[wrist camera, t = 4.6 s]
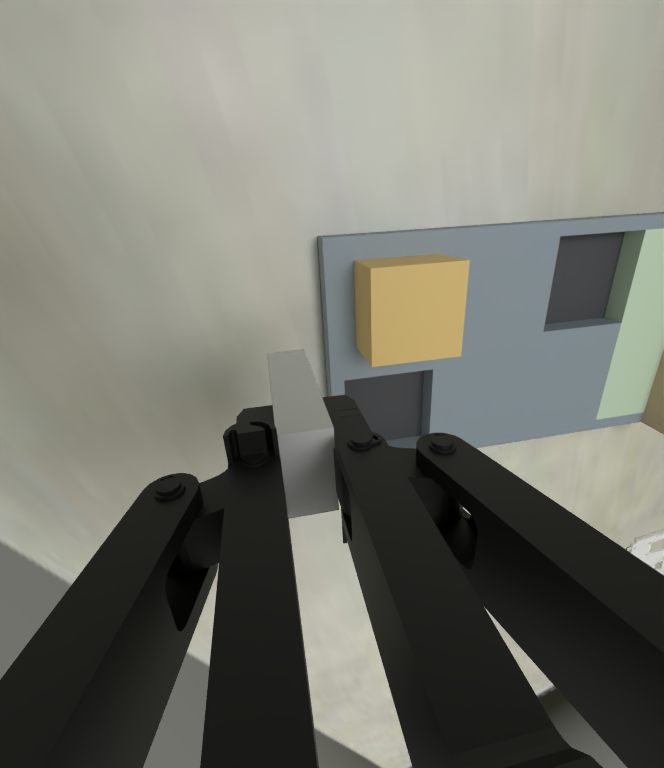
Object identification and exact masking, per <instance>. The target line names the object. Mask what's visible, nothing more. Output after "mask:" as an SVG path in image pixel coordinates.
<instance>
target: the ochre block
mask: <svg viewBox="0 0 664 768" xmlns="http://www.w3.org/2000/svg"><path fill="white" fill-rule="evenodd" d="M469 264H470V260H467V259H463V258H458V257H454V256H449V255H445V254H427V255H415V256H402V257H390V258H377V259H365V260H354V279H355V313H356V347H357V348H358V350H359V351H360V352H361V354H362V355H363V356H364V358H365V359H366V360H367V362H368V363H369V364H370V365H371V367H378V366H386V365H394V364H402V363H411V362H419V361H427V360H435V359H443V358H451V357H460V356H461V353H462V341H463V330H464V319H465V308H466V297H467V286H468V275H469Z"/></svg>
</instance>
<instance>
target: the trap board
mask: <svg viewBox="0 0 664 768" xmlns="http://www.w3.org/2000/svg"><path fill="white" fill-rule="evenodd" d="M318 249H319V265H320V280H321V296H322V311H323V327H324V342H325V358H326V373H327V389H328V397H330V396H338V395H347V396H348V397H350V398H352V399H353V400H354V401H355V402H356V404H357V406H358V409H359V410H360V411H361V414H362V415H363V417H364V419H365V420H366V422H367V424H368V426H369V428H370V429H371V431H372V432H375V433H377V434H380V435H381V436H382V437H383V438H384V439H385V440H386V442H387V443H388V445H389V446H392V447H399V448H416V442H417V441H418V439H419V438H420V437H422V436H424V435H426V434H430V433H437V432H439V433H440V432H441V433H447V434H451V435H455V436H457V437H459V438H461V439H463V440H464V441H466V442H467V443H469V444H470V445H472V446H473V447H475V448H480V447H486V446H493V445H499V444H505V443H511V442H518V441H524V440H530V439H536V438H543V437H549V436H555V435H561V434H567V433H574V432H580V431H586V430H592V429H599V428H605V427H611V426H617V425H623V424H630V423H636V422H642V423H644V424H646V425H648V426H650V427H651V428H653V429H655V430H657V431H659V432H661V433H663V434H664V212H658V213H643V214H629V215H615V216H601V217H586V218H572V219H558V220H543V221H529V222H515V223H501V224H486V225H472V226H458V227H443V228H429V229H415V230H400V231H386V232H372V233H358V234H343V235H329V236H318ZM427 254H445V255H449V256H454V257H458V258H463V259H467V260H470V264H469V275H468V286H467V297H466V308H465V319H464V330H463V341H462V353H461V356H460V357H451V358H443V359H435V360H427V361H419V362H411V363H402V364H394V365H386V366H378V367H371V365H370V364H369V363H368V362H367V360H366V359H365V358H364V356H363V355H362V354H361V352H360V351H359V350H358V348H357V347H356V313H355V279H354V260H365V259H377V258H390V257H402V256H415V255H427Z"/></svg>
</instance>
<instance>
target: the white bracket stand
mask: <svg viewBox="0 0 664 768" xmlns="http://www.w3.org/2000/svg"><path fill="white" fill-rule="evenodd" d="M662 538H664V529H663V530H660V531H657V532H653V533H650V534H647V535H644V536H641V537H638V538H635V539H634V542H632V543H631V544H630V547H629V548H627V551H628V550H629V552H630V553H631V554H633V555H634V556H636V557H637V558H639V559H640V560H642V561H643V562H645V563H646V564H648V565H649V566H651V567H652V568H654V569H655V570H657V571H658V572H660V573H661V574H662V575H664V548H662V549H658V550H654V551H650V548H651V544H652V542H655V541H657V540H660V539H662ZM659 562H661V563H660V567H657V568H655V564H657V563H659Z"/></svg>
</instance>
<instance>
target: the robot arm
mask: <svg viewBox="0 0 664 768" xmlns="http://www.w3.org/2000/svg"><path fill="white" fill-rule="evenodd" d="M267 358H268V367H269V376H270V386H271V395H272V404H273V405H270V406H263V407H255V408H248V409H243V410H242V412H241V413H240V414H239V415H238V416H237V423H236V424H234V425H232V426H231V427H229V428H228V429H227V430H226V431H225V433H224V435H223V439H224V444H225V449H226V454H227V459H228V469H227V470H226V471H225V472H223V473H222V474H220V475H218V476H216V477H214V478H212V479H209V480H207V481H204V482H201V483H199V482H198V480H197V478H196V477H195V476H193V475H191V474H185V473H177V474H170V475H167V476H164V477H161V478H159V479H157V480H156V481H154V482H152V483H150V484H149V485H148V486H147V487H146V488H145V489H144V490H143V491H142V492H141V494H140V495H139V496H138V498H137V499H136V500H135V502H134V503H133V504H132V506H131V507H130V508H129V510H128V511H127V512H126V514H125V515H124V516H123V518H122V519H121V520H120V522H119V523H118V524H117V526H116V527H115V528H114V530H113V531H112V532H111V534H110V535H109V536H108V538H107V539H106V540H105V542H104V543H103V544H102V545H101V547H100V548H99V549H98V551H97V552H96V553H95V555H94V556H93V557H92V559H91V560H90V561H89V563H88V564H87V565H86V567H85V568H84V569H83V571H82V572H81V573H80V575H79V576H78V577H77V579H76V580H75V581H74V583H73V584H72V585H71V587H70V588H69V590H68V591H67V592H66V593H65V595H64V596H63V597H62V599H61V600H60V601H59V603H58V604H57V605H56V607H55V608H54V609H53V611H52V612H51V613H50V615H49V616H48V617H47V619H46V620H45V621H44V623H43V624H42V625H41V627H40V628H39V629H38V631H37V632H36V633H35V635H34V636H33V637H32V639H31V640H30V641H29V643H28V644H27V645H26V646H25V648H24V649H23V650H22V652H21V653H20V654H19V656H18V657H17V659H16V660H15V661H14V662H13V664H12V665H11V666H10V668H9V669H8V670H7V672H6V673H5V675H4V676H3V677H2V678H1V680H0V768H143V766H144V763H145V760H146V758H147V755H148V752H149V750H150V747H151V744H152V742H153V739H154V736H155V734H156V731H157V729H158V726H159V723H160V721H161V718H162V715H163V713H164V710H165V707H166V705H167V702H168V700H169V697H170V694H171V691H172V689H173V686H174V684H175V681H176V678H177V676H178V673H179V670H180V668H181V665H182V663H183V660H184V657H185V655H186V652H187V649H188V647H189V644H190V641H191V639H192V636H193V633H194V631H195V628H196V626H197V623H198V620H199V618H200V615H201V612H202V610H203V607H204V604H205V602H206V599H207V597H208V594H209V591H210V589H211V586H212V583H213V581H214V578H215V575H216V573H217V568H218V563H219V571H218V581H217V592H216V603H215V614H214V625H213V636H212V646H211V657H210V668H209V679H208V690H207V700H206V711H205V723H204V733H203V745H202V755H201V765H200V768H319V764H318V756H317V747H316V740H315V731H314V723H313V715H312V707H311V699H310V691H309V682H308V674H307V666H306V658H305V650H304V642H303V634H302V625H301V617H300V609H299V601H298V593H297V585H296V577H295V569H294V560H293V552H292V544H291V536H290V528H289V521H288V519H289V518H295V517H300V516H306V515H312V514H317V513H323V512H329V511H334V510H339V504H338V499H339V502H340V505H341V514H342V531H343V543H347V542H348V545H349V548H350V552H351V555H352V559H353V562H354V566H355V569H356V573H357V576H358V580H359V583H360V587H361V590H362V593H363V597H364V600H365V604H366V607H367V611H368V614H369V618H370V621H371V625H372V628H373V632H374V635H375V638H376V642H377V645H378V649H379V652H380V656H381V659H382V663H383V666H384V670H385V673H386V677H387V680H388V683H389V687H390V690H391V694H392V697H393V701H394V704H395V708H396V711H397V715H398V718H399V722H400V725H401V729H402V732H403V735H404V739H405V742H406V746H407V749H408V753H409V756H410V760H411V763H412V767H413V768H603V767H602V766H600V765H599V764H598V763H597V762H596V761H595V760H594V759H593V758H592V757H591V756H590V755H587V754H585V753H583V752H580V751H578V750H576V749H574V748H571V747H570V746H569V744H568V743H567V742H566V741H565V740H564V739H563V738H562V737H561V735H560V734H559V732H558V731H557V730H556V728H555V726H554V725H553V723H552V722H551V720H550V718H549V717H548V715H547V713H546V711H545V709H544V708H543V706H542V704H541V703H540V701H539V699H538V698H537V696H536V694H535V693H534V691H533V689H532V687H531V686H530V684H529V682H528V681H527V679H526V677H525V676H524V674H523V672H522V671H521V669H520V667H519V665H518V664H517V662H516V660H515V659H514V657H513V655H512V654H511V652H510V650H509V648H508V647H507V645H506V643H505V642H504V640H503V638H502V637H501V635H500V633H499V632H498V630H497V628H496V626H495V625H494V623H493V621H492V620H491V618H490V616H489V615H488V613H487V611H486V609H487V610H488V611H489V613H490V614H491V615H492V616H493V617H494V618H495V619H496V620H497V622H498V623H499V624H500V625H501V626H502V627H503V628H504V629H505V630H506V632H507V633H508V634H509V635H510V636H511V637H512V638H513V639H514V641H515V642H516V643H517V644H518V645H519V646H520V647H521V648H522V650H523V651H524V652H525V653H526V654H527V655H528V656H529V657H530V659H531V660H532V661H533V662H534V663H535V664H536V665H537V666H538V668H539V669H540V670H541V671H542V672H543V673H544V674H545V675H546V677H547V678H548V679H549V680H550V681H551V682H552V683H553V684H554V686H555V687H556V688H557V689H558V690H559V691H560V692H561V693H562V695H563V696H564V697H565V698H566V699H567V700H568V701H569V702H570V703H571V705H572V706H573V707H574V708H575V709H576V710H577V711H578V712H579V714H580V715H581V716H582V717H583V718H584V719H585V720H586V721H587V723H588V724H589V725H590V726H591V727H592V728H593V729H594V730H595V731H596V733H597V734H598V735H599V736H600V737H601V738H602V739H603V741H604V742H605V743H606V744H607V745H608V746H609V747H610V748H611V750H612V751H613V752H614V753H615V754H616V755H617V756H618V757H619V759H620V760H621V761H622V762H623V763H624V764H625V765H626V766H627V767H628V768H664V575H662V574H661V573H660V572H658V571H657V570H655V569H654V568H652V567H651V566H649V565H648V564H646V563H645V562H643V561H642V560H640V559H639V558H637V557H636V556H634V555H633V554H631V553H630V552H628V551H627V550H626V549H624V548H623V547H621V546H620V545H618V544H617V543H615V542H614V541H612V540H611V539H609V538H608V537H606V536H605V535H603V534H602V533H600V532H599V531H597V530H596V529H594V528H593V527H591V526H590V525H589V524H587V523H586V522H584V521H583V520H581V519H580V518H578V517H577V516H575V515H574V514H572V513H571V512H569V511H568V510H566V509H565V508H563V507H562V506H560V505H559V504H557V503H556V502H554V501H553V500H552V499H550V498H549V497H547V496H546V495H544V494H543V493H541V492H540V491H538V490H537V489H535V488H534V487H532V486H531V485H529V484H528V483H526V482H525V481H523V480H522V479H520V478H519V477H518V476H516V475H515V474H513V473H512V472H510V471H509V470H507V469H506V468H504V467H503V466H501V465H500V464H498V463H497V462H495V461H494V460H492V459H491V458H489V457H488V456H486V455H485V454H483V453H482V452H481V451H479V450H478V449H476V448H475V447H473V446H472V445H470V444H469V443H467V442H466V441H464V440H463V439H461V438H459V437H457V436H455V435H451V434H447V433H441V432H440V433H439V432H437V433H430V434H426V435H424V436H422V437H420V438H419V439H418V441H417V442H416V448H399V447H392V446H389V445H388V443H387V442H386V440H385V439H384V438H383V437H382V436H381V435H380V434H377V433H375V432H372V431H371V429H370V428H369V426H368V424H367V422H366V420H365V419H364V417H363V415H362V414H361V411H360V410H359V409H358V406H357V404H356V402H355V401H354V400H353V399H352V398H350V397H348V396H347V395H338V396H330V397H322V396H321V393H320V391H319V388H318V385H317V383H316V380H315V378H314V375H313V372H312V370H311V367H310V365H309V362H308V359H307V357H306V354H305V352H304V349H303V350H294V351H285V352H276V353H268V354H267ZM463 507H464V508H465V509H466V510H467V511H468V512H469V513H470V514H471V515H470V514H468V513H467V512H466V511H465V510H464V509H463ZM484 607H485V608H486V609H485V608H484Z"/></svg>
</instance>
